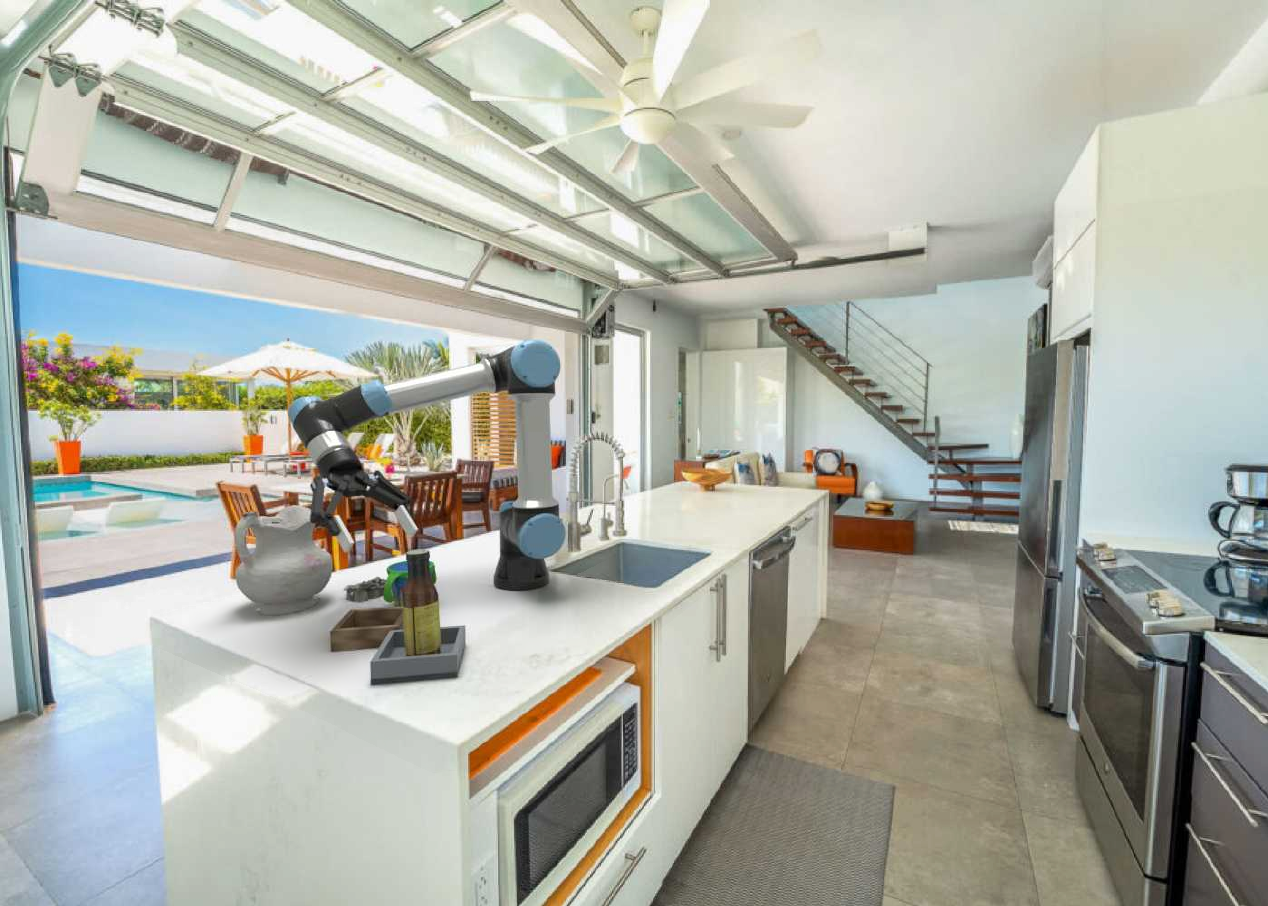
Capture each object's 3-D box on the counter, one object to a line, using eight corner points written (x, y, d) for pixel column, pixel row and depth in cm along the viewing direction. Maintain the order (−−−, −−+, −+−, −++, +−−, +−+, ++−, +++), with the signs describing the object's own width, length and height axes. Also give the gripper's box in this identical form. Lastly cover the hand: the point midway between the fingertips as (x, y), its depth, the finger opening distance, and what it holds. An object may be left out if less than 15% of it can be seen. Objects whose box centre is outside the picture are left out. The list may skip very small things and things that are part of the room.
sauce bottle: (447, 651, 102) (445, 547, 101) (431, 665, 96) (429, 555, 95) (414, 649, 102) (412, 546, 101) (396, 664, 96) (394, 554, 95)
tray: (465, 644, 107) (465, 625, 107) (457, 677, 93) (457, 654, 93) (390, 650, 104) (390, 630, 104) (370, 685, 91) (370, 661, 90)
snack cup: (401, 620, 120) (400, 576, 120) (368, 613, 125) (367, 570, 124) (451, 600, 134) (451, 560, 134) (420, 594, 139) (419, 555, 138)
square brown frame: (411, 623, 118) (411, 605, 118) (399, 646, 106) (398, 626, 106) (350, 627, 116) (350, 609, 116) (330, 651, 104) (330, 631, 104)
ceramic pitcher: (293, 630, 117) (299, 517, 116) (203, 623, 117) (208, 510, 116) (345, 599, 139) (351, 503, 137) (270, 593, 138) (274, 497, 137)
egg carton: (358, 604, 132) (358, 588, 131) (341, 599, 135) (340, 584, 135) (396, 593, 141) (395, 578, 140) (379, 588, 144) (378, 574, 144)
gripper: (383, 466, 122) (428, 539, 115) (262, 476, 101) (309, 567, 94) (397, 444, 119) (444, 517, 112) (276, 449, 98) (326, 540, 91)
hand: (383, 540), depth 103 cm, fingers open, 13 cm apart
